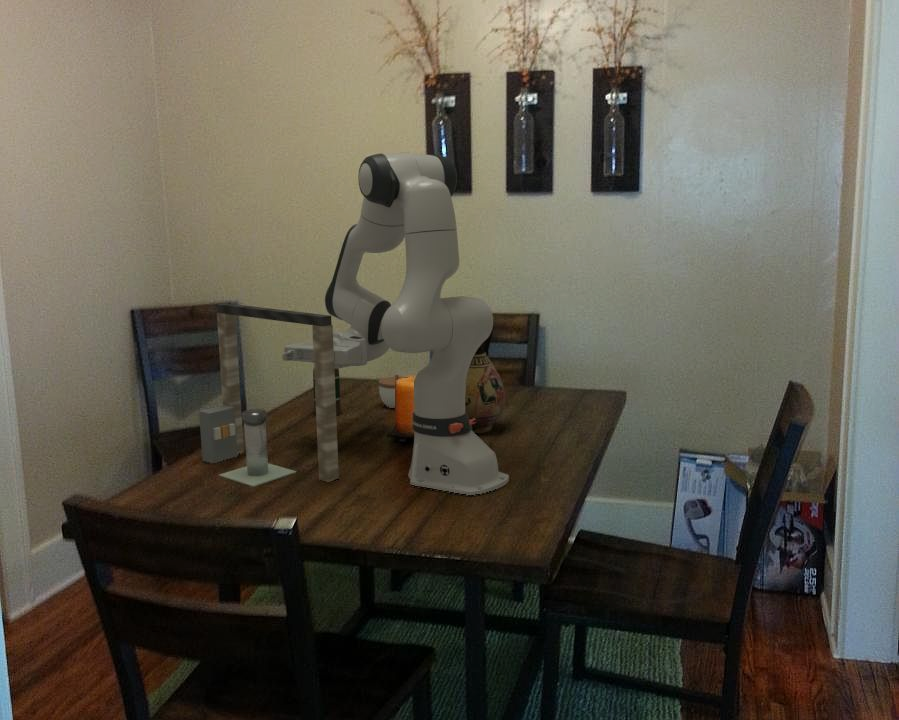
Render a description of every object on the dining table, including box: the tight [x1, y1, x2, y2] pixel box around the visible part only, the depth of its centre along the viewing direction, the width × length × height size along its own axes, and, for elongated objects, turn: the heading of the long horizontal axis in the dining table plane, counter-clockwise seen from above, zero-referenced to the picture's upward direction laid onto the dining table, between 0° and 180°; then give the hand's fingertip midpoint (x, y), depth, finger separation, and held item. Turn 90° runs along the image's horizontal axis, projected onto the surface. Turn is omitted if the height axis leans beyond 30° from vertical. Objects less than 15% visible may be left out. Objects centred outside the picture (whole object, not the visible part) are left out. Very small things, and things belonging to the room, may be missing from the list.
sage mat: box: [218, 462, 297, 488], centre depth 197 cm, size 12×12×1 cm
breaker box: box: [198, 404, 239, 464], centre depth 208 cm, size 5×7×12 cm
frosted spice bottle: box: [241, 408, 269, 476], centre depth 196 cm, size 5×5×14 cm
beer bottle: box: [312, 368, 341, 417], centre depth 246 cm, size 8×8×24 cm
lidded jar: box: [377, 374, 409, 409], centre depth 255 cm, size 11×11×9 cm
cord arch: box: [216, 302, 340, 483], centre depth 200 cm, size 36×3×36 cm, turn 50°
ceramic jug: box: [465, 319, 506, 434], centre depth 229 cm, size 17×15×30 cm
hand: (299, 358), depth 204 cm, fingers open, 8 cm apart
